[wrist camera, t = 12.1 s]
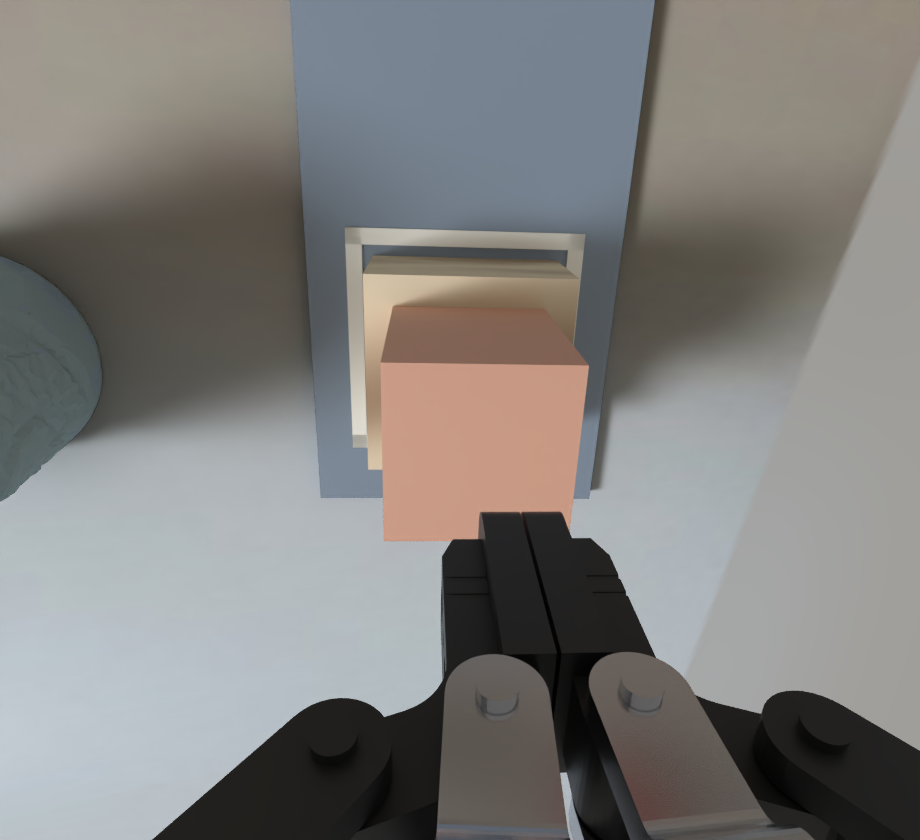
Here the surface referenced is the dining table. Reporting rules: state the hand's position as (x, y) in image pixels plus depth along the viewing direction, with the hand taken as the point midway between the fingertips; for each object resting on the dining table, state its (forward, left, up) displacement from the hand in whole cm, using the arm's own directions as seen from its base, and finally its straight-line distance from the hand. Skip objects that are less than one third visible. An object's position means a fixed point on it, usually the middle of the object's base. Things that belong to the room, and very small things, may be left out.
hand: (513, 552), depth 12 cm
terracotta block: (0, 0, -10) cm, 10 cm away
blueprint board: (-5, 0, -15) cm, 16 cm away
